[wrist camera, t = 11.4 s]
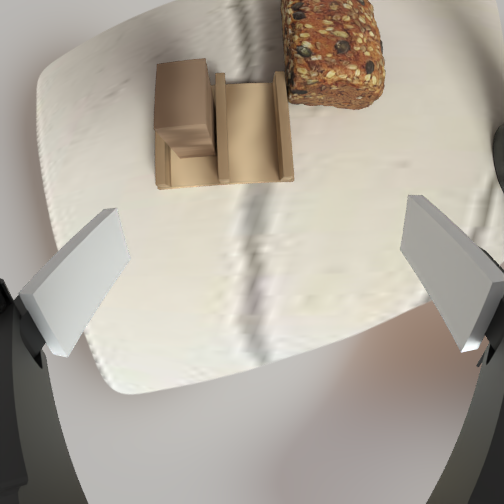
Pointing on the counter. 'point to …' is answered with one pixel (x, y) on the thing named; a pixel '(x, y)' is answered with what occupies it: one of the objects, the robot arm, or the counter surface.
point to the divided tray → (237, 140)
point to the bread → (332, 53)
